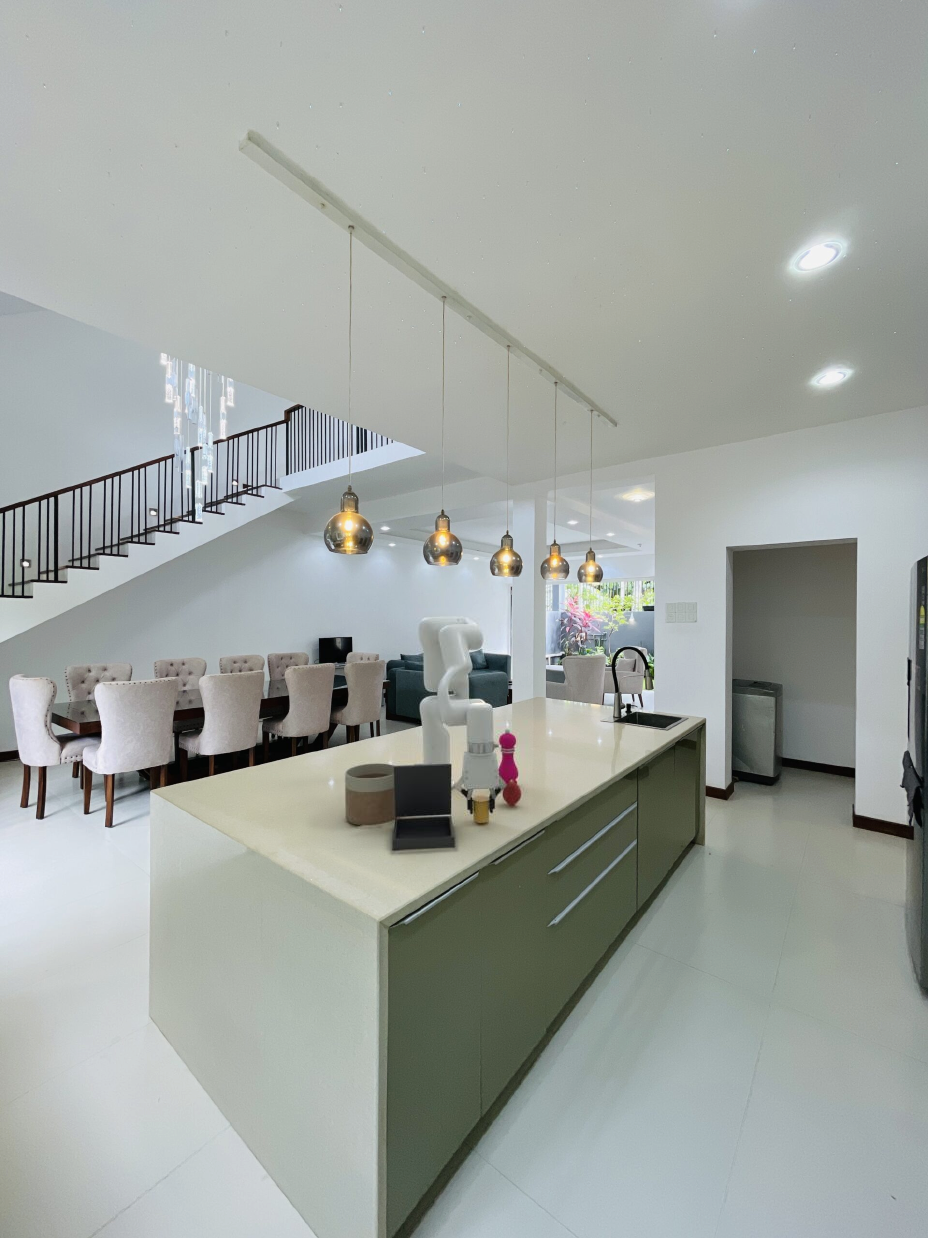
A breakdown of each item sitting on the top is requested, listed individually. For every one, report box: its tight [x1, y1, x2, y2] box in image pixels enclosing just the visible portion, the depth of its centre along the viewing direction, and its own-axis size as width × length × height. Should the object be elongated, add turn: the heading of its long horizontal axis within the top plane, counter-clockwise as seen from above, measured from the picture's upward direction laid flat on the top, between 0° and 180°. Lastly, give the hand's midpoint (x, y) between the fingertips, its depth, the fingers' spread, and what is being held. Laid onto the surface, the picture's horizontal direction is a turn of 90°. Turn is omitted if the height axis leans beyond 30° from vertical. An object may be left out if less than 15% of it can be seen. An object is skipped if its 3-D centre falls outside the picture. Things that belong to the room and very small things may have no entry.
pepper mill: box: [498, 728, 519, 786], centre depth 179 cm, size 7×7×20 cm
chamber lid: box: [394, 763, 453, 818], centre depth 143 cm, size 16×16×5 cm
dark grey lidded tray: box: [391, 815, 456, 851], centre depth 136 cm, size 15×16×3 cm
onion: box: [501, 780, 522, 807], centre depth 160 cm, size 6×6×8 cm
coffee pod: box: [472, 795, 490, 824], centre depth 145 cm, size 5×5×6 cm
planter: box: [344, 762, 398, 826], centre depth 152 cm, size 16×16×14 cm
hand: (481, 811), depth 145 cm, fingers closed on coffee pod, 5 cm apart
